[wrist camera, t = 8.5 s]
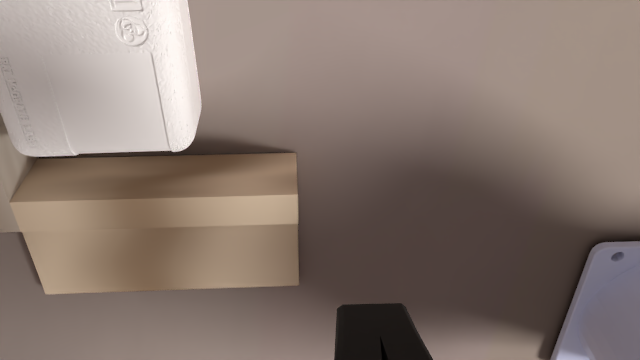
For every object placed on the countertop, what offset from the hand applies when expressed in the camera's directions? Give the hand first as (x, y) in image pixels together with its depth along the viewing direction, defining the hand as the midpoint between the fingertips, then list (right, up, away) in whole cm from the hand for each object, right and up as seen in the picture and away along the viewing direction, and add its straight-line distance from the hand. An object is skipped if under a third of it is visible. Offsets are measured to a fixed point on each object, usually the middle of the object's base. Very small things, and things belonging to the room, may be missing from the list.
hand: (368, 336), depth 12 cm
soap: (-8, +9, +5) cm, 13 cm away
